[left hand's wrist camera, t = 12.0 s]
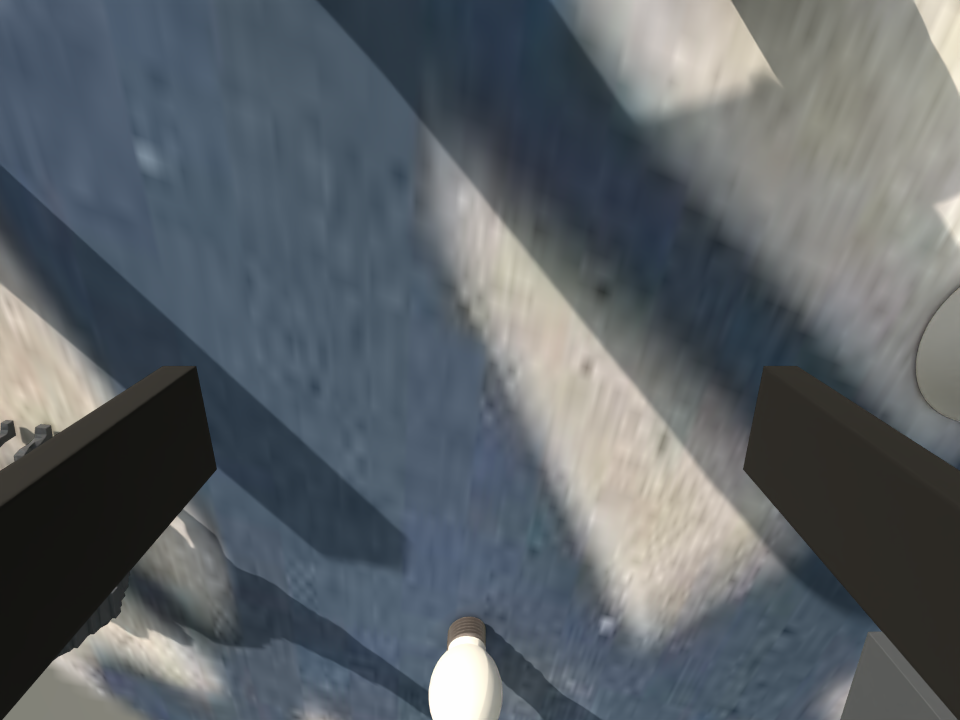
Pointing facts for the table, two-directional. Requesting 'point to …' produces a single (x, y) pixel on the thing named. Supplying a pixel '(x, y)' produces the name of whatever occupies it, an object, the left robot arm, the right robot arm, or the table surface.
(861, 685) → the bar
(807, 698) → the table surface
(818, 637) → the table surface
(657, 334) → the table surface
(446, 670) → the light bulb
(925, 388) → the right robot arm
